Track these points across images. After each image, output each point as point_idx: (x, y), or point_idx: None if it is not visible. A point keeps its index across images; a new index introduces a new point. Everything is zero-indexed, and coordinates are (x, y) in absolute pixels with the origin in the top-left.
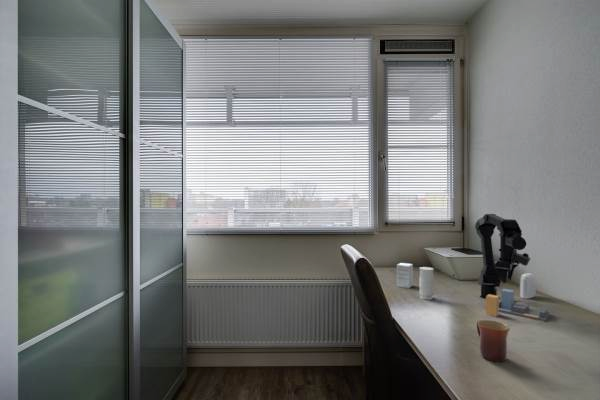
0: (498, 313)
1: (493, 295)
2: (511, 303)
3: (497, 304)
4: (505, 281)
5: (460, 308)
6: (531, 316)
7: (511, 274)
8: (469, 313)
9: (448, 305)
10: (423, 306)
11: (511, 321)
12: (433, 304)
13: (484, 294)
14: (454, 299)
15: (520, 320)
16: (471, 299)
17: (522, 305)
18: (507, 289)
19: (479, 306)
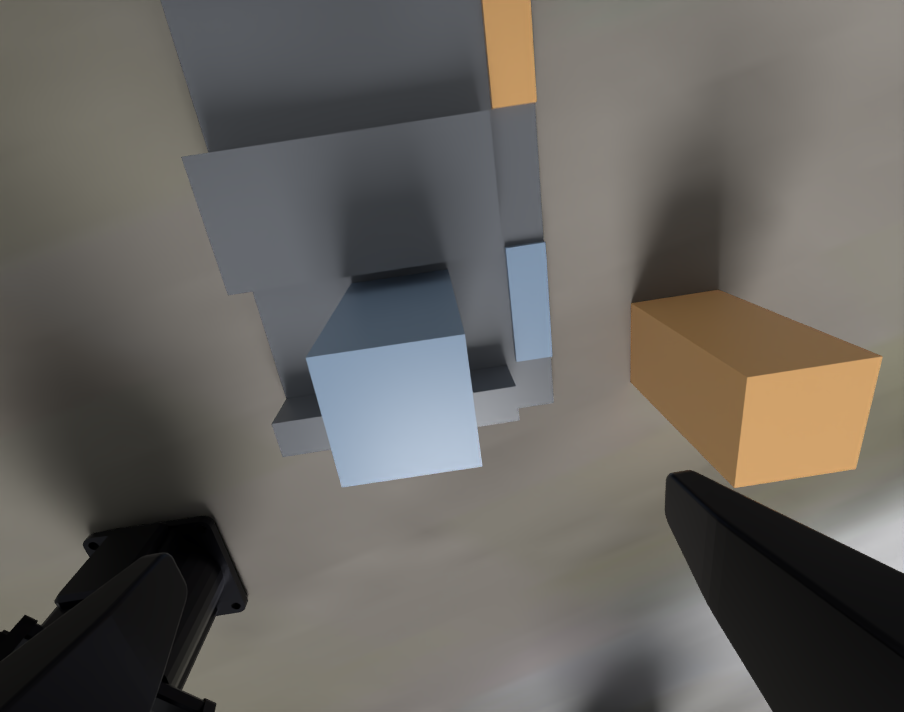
0: (648, 304)
1: (761, 431)
2: (447, 286)
3: (750, 330)
4: (728, 496)
5: None
6: (530, 11)
7: (52, 693)
8: None
9: (681, 607)
10: None
11: (778, 134)
12: (731, 657)
13: (215, 605)
14: (491, 655)
15: (681, 83)
16: (374, 604)
17: (352, 187)
18: (341, 439)
19: (521, 491)
